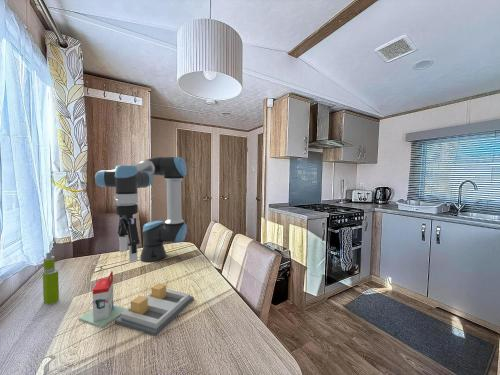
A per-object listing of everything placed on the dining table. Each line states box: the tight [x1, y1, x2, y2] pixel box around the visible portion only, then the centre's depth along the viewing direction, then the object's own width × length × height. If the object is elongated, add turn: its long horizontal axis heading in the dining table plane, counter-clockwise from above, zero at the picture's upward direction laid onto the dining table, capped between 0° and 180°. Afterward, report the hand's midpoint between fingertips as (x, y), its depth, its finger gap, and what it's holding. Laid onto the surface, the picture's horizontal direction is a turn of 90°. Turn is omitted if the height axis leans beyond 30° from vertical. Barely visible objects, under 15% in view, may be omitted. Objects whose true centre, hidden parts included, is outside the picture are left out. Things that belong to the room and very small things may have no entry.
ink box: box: [92, 270, 114, 322], centre depth 78 cm, size 8×5×15 cm, turn 24°
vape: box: [42, 252, 60, 306], centre depth 86 cm, size 4×6×20 cm, turn 62°
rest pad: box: [78, 304, 127, 328], centre depth 79 cm, size 10×12×1 cm
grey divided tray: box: [114, 288, 195, 337], centre depth 82 cm, size 22×18×3 cm
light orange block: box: [130, 295, 148, 315], centre depth 78 cm, size 4×4×5 cm
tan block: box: [151, 283, 167, 299], centre depth 87 cm, size 4×4×5 cm
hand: (128, 256), depth 85 cm, fingers open, 13 cm apart
